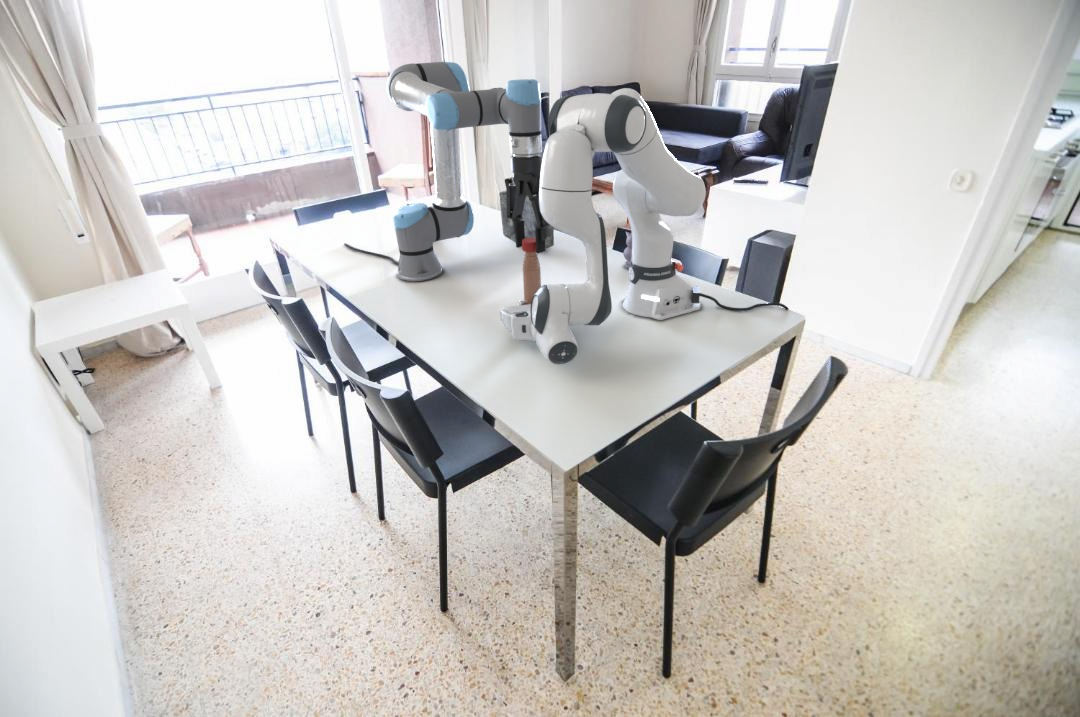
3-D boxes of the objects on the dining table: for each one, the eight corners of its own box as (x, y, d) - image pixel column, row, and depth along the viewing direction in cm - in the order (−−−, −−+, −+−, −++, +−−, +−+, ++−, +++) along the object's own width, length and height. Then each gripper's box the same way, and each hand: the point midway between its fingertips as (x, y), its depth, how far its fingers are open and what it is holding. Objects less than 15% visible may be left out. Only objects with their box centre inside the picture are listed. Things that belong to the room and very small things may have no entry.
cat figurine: (651, 266, 175) (654, 232, 168) (638, 272, 170) (641, 238, 163) (630, 260, 180) (633, 227, 173) (618, 267, 175) (619, 233, 169)
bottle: (545, 324, 140) (543, 242, 128) (532, 329, 138) (528, 247, 125) (535, 318, 143) (532, 238, 131) (522, 323, 141) (517, 242, 129)
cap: (538, 252, 127) (538, 242, 126) (521, 252, 127) (521, 242, 126) (539, 246, 131) (539, 237, 130) (523, 247, 131) (522, 237, 130)
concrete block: (559, 252, 190) (558, 199, 179) (540, 257, 185) (538, 203, 175) (520, 236, 208) (517, 187, 198) (502, 240, 204) (498, 190, 194)
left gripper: (486, 153, 120) (494, 245, 132) (546, 160, 109) (549, 261, 121) (508, 148, 125) (514, 238, 137) (568, 155, 114) (568, 252, 126)
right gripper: (584, 306, 127) (567, 286, 138) (505, 318, 123) (495, 296, 134) (583, 328, 130) (567, 306, 142) (507, 340, 126) (497, 317, 138)
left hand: (530, 248), depth 129 cm, fingers open, 6 cm apart
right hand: (532, 301), depth 138 cm, fingers closed on bottle, 5 cm apart
